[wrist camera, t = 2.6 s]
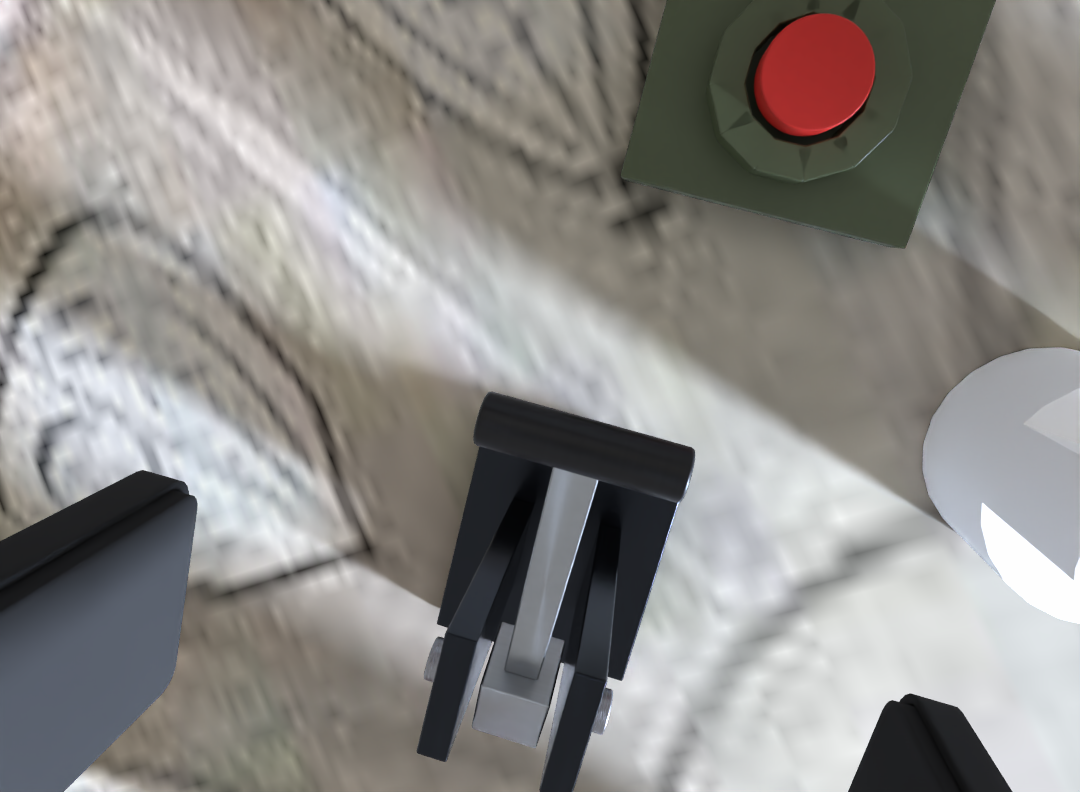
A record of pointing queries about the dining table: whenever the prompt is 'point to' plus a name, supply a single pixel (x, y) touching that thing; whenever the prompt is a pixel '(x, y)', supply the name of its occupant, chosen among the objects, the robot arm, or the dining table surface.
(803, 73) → the red button
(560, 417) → the switch lever
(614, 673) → the switch bracket
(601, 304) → the dining table surface
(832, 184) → the button housing
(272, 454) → the dining table surface
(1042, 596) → the cylinder with rectangular tab
